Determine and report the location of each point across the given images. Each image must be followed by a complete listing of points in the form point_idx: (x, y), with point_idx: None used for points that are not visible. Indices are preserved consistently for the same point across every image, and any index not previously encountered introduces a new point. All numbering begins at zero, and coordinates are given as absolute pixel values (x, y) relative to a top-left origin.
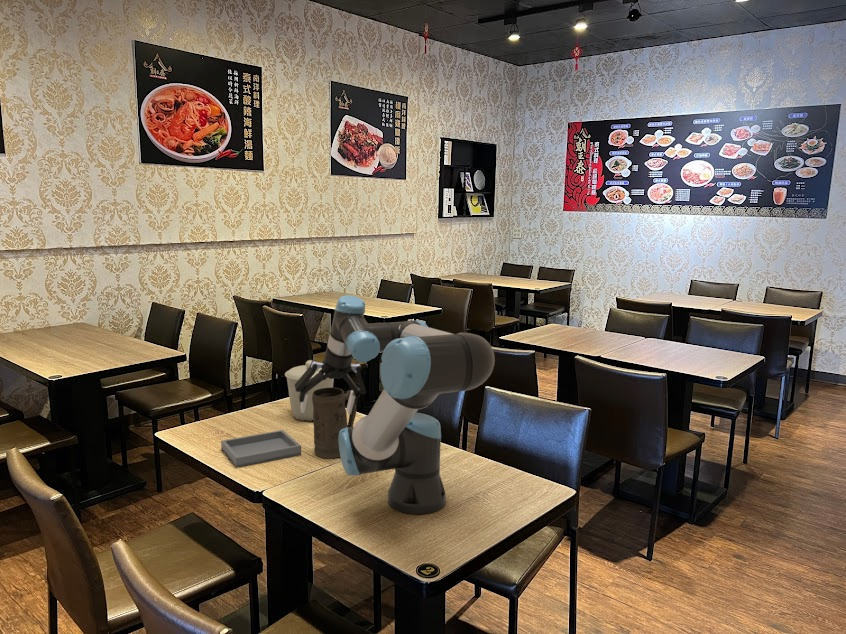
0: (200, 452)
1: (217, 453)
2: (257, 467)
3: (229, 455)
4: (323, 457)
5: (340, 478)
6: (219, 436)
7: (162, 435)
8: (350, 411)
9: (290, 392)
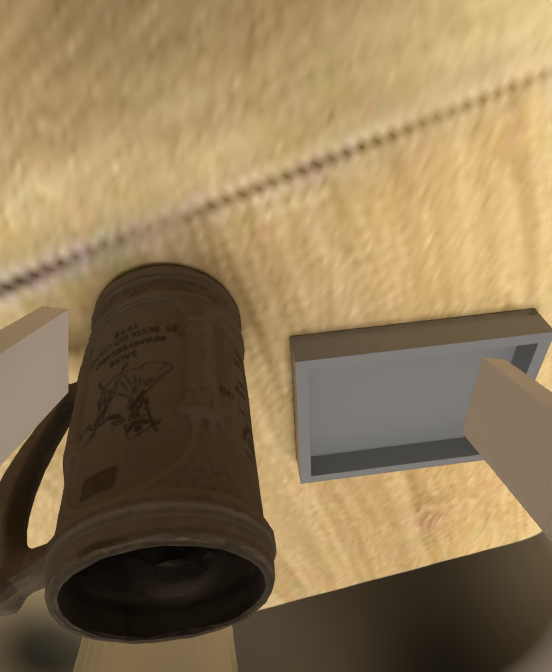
0: None
1: None
2: (475, 289)
3: None
4: (218, 284)
5: (209, 16)
6: (444, 499)
7: None
8: (38, 316)
9: (232, 640)
